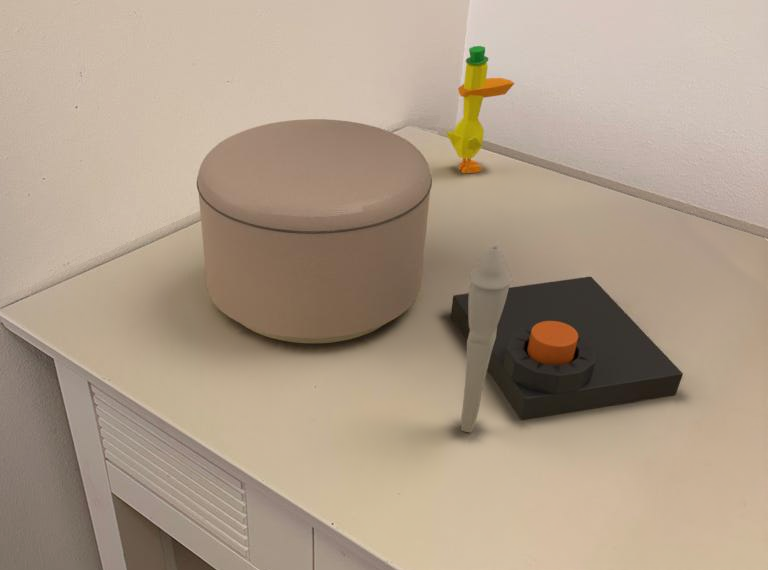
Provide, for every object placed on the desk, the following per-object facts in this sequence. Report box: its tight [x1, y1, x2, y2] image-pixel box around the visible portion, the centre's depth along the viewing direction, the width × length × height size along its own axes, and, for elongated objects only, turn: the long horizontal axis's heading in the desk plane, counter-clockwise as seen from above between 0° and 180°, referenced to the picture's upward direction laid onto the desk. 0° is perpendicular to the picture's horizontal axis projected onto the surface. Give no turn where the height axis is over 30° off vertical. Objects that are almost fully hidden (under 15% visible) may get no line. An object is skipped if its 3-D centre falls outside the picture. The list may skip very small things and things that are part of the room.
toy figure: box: [445, 45, 515, 174], centre depth 89 cm, size 7×4×12 cm, turn 106°
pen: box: [460, 244, 513, 433], centre depth 57 cm, size 2×3×14 cm
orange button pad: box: [450, 276, 684, 420], centre depth 67 cm, size 12×14×4 cm
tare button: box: [527, 321, 578, 365], centre depth 62 cm, size 3×3×2 cm
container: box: [196, 118, 433, 344], centre depth 71 cm, size 18×18×12 cm
